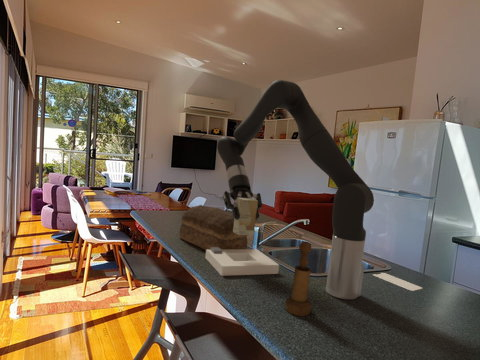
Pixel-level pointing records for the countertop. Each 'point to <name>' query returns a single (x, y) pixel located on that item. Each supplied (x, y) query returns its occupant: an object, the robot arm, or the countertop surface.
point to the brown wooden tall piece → (300, 285)
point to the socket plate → (240, 262)
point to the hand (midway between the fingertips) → (247, 218)
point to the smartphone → (397, 281)
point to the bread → (210, 229)
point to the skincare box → (245, 216)
